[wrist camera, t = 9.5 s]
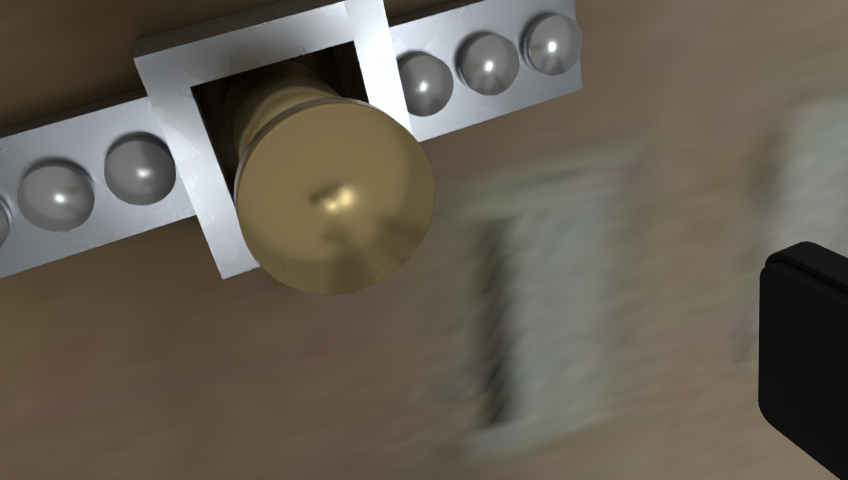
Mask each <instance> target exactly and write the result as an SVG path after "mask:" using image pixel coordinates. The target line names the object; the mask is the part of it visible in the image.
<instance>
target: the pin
mask: <svg viewBox="0 0 848 480" xmlns="http://www.w3.org/2000/svg"><path fill="white" fill-rule="evenodd" d="M224 117H225V123H226V127H227V130H228V132H229V135H230V138H231V141H232V144H233V147H234V149H235V152H236V155H237V158H238V161H239V166H238V168H237V172H236V177H235V182H234V203H235V210H236V214H237V218H238V222H239V226H240V229H241V233H242V236H243V238H244V241H245V243H246V246H247V247H248V249H249V251H250V253H251V254H252V256H253V257H254V259H255V260H256V261H257V262H258V264H259V265H260V266H261V267H262V268H263V269H264V270H265V271H266V272H267V273H268V274H269V275H271V276H272V277H274V278H275V279H277V280H278V281H279V282H281V283H283V284H285V285H287V286H289V287H292V288H294V289H297V290H300V291H303V292H308V293H312V294H322V295H338V294H345V293H351V292H354V291H358V290H362V289H364V288H367V287H370V286H372V285H374V284H376V283H378V282H380V281H382V280H384V279H385V278H387V277H388V276H390V275H391V274H393V273H394V272H395V271H396V270H398V269H399V268H400V267H401V266H402V265H403V264H404V263H405V262H406V261H407V260H408V259H409V258H410V257H411V256H412V254H413V253H414V252H415V250H416V249H417V248H418V246H419V245H420V243H421V241H422V240H423V238H424V236H425V234H426V232H427V229H428V227H429V224H430V221H431V218H432V214H433V208H434V202H435V186H434V177H433V173H432V169H431V166H430V163H429V161H428V158H427V156H426V154H425V152H424V150H423V149H422V147H421V145H420V144H419V143H418V141H417V140H416V139H415V137H414V136H413V135H412V134H411V133H410V132H409V131H408V130H407V129H406V128H405V127H404V126H402V125H401V124H400V123H399V122H397V121H396V120H395V119H394V118H392V117H391V116H390V115H388V114H387V113H385V112H384V111H383V110H381V109H379V108H377V107H375V106H373V105H371V104H368V103H366V102H363V101H360V100H355V99H351V98H342V97H341V96H340V95H339V94H338V93H337V92H335V91H334V90H333V89H332V88H331V87H330V86H329V85H328V84H327V83H326V82H325V81H323V80H322V79H321V78H320V77H319V76H318V75H317V74H316V73H315V72H314V71H312V70H311V69H310V68H308V67H307V66H305V65H303V64H301V63H299V62H296V61H293V60H289V59H286V60H283V61H279V62H276V63H272V64H269V65H265V66H262V67H258V68H254V69H251V70H247V71H244V72H241V73H240V74H239V75H238V76H237V77H236V79H235V80H234V81H233V83H232V84H231V86H230V88H229V90H228V93H227V96H226V99H225V105H224Z"/></svg>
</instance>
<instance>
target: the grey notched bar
mask: <svg viewBox="0 0 848 480" xmlns="http://www.w3.org/2000/svg"><path fill="white" fill-rule="evenodd" d="M582 45H583V38H582V33H581V30H580V28H579V26H578V24H577V23H576V14H575V4H574V0H455V1H451V2H447V3H444V4H440V5H437V6H433V7H430V8H426V9H423V10H419V11H416V12H412V13H408V14H405V15H401V16H398V17H394V18H391V19H387V18H386V13H385V9H384V4H383V0H281V1H278V2H274V3H270V4H266V5H263V6H259V7H255V8H251V9H248V10H244V11H240V12H236V13H233V14H229V15H225V16H221V17H218V18H214V19H210V20H206V21H203V22H199V23H195V24H191V25H188V26H184V27H180V28H176V29H173V30H169V31H165V32H161V33H158V34H154V35H150V36H146V37H143V38H139V39H136V44H135V50H134V56H133V60H134V62H135V65H136V67H137V70H138V72H139V74H140V77H141V79H142V82H143V84H144V87H145V88H142V89H139V90H135V91H132V92H128V93H125V94H121V95H118V96H114V97H110V98H107V99H103V100H100V101H96V102H93V103H89V104H86V105H82V106H79V107H75V108H71V109H68V110H64V111H61V112H57V113H54V114H50V115H47V116H43V117H40V118H36V119H32V120H29V121H25V122H22V123H18V124H15V125H11V126H8V127H4V128H1V129H0V278H3V277H6V276H9V275H12V274H15V273H18V272H21V271H24V270H27V269H30V268H33V267H37V266H40V265H43V264H46V263H49V262H52V261H55V260H58V259H61V258H64V257H67V256H70V255H73V254H76V253H80V252H83V251H86V250H89V249H92V248H95V247H98V246H101V245H104V244H107V243H110V242H113V241H116V240H120V239H123V238H126V237H129V236H132V235H135V234H138V233H141V232H144V231H147V230H150V229H153V228H156V227H160V226H163V225H166V224H169V223H172V222H175V221H178V220H181V219H184V218H187V217H190V216H193V215H197V217H198V220H199V222H200V225H201V227H202V230H203V232H204V235H205V237H206V240H207V242H208V244H209V247H210V249H211V252H212V254H213V257H214V259H215V262H216V264H217V267H218V269H219V272H220V274H221V276H222V279H225V278H228V277H231V276H234V275H237V274H240V273H243V272H246V271H248V270H251V269H254V268H257V267H260V265H259V264H258V262H257V261H256V260H255V259H254V257H253V256H252V254H251V253H250V251H249V249H248V247H247V246H246V243H245V241H244V238H243V236H242V233H241V229H240V226H239V222H238V218H237V214H236V210H235V203H234V195H233V193H232V190H231V187H230V185H229V182H228V179H227V177H226V174H225V171H224V168H223V166H222V163H221V160H220V158H219V155H218V152H217V150H216V147H215V144H214V142H213V139H212V136H211V134H210V131H209V128H208V125H207V123H206V120H205V117H204V115H203V112H202V109H201V107H200V104H199V101H198V99H197V96H196V93H195V90H194V88H193V86H195V85H198V84H202V83H205V82H209V81H212V80H216V79H219V78H223V77H226V76H230V75H233V74H237V73H240V72H244V71H247V70H251V69H254V68H258V67H262V66H265V65H269V64H272V63H276V62H279V61H283V60H286V59H290V58H293V57H297V56H300V55H304V54H307V53H311V52H314V51H318V50H321V49H325V48H328V47H333V51H334V54H335V58H336V62H337V66H338V70H339V73H340V77H341V81H342V85H343V88H344V92H345V96H346V98H351V99H355V100H360V101H363V102H366V103H368V104H371V105H373V106H375V107H377V108H379V109H381V110H383V111H384V112H385V113H387V114H388V115H390V116H391V117H392V118H394V119H395V120H396V121H397V122H399V123H400V124H401V125H402V126H404V127H405V128H406V129H407V130H408V131H409V132H410V133H411V134H412V135H413V136H414V137H415V139H416V140H417V141H418V142H421V141H424V140H427V139H430V138H433V137H436V136H439V135H442V134H445V133H449V132H452V131H455V130H458V129H461V128H464V127H467V126H470V125H473V124H476V123H479V122H482V121H485V120H488V119H492V118H495V117H498V116H501V115H504V114H507V113H510V112H513V111H516V110H519V109H522V108H525V107H528V106H532V105H535V104H538V103H541V102H544V101H547V100H550V99H553V98H556V97H559V96H562V95H565V94H568V93H572V92H575V91H578V90H581V89H583V86H582V76H581V65H580V54H581V51H582Z"/></svg>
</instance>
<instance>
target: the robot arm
mask: <svg viewBox="0 0 848 480" xmlns="http://www.w3.org/2000/svg"><path fill="white" fill-rule="evenodd" d="M758 402H759V407H760V410H761V412H762V414H763V416H764V418H765V419H766V420H767V421H768V423H770V424H771V425H772V426H773V427H774V428H775V429H777V430H778V431H779V432H780V433H782V434H783V435H784V436H786V437H787V438H788V439H789V440H791V441H792V442H793V443H794V444H796V445H797V446H798V447H800V448H801V449H802V450H803V451H805V452H806V453H807V454H808V455H810V456H811V457H812V458H813V459H815V460H816V461H817V462H819V463H820V464H821V465H822V466H824V467H825V468H826V469H827V470H829V471H830V472H831V473H833V474H834V475H835V476H836V477H838V478H839V479H840V480H848V258H846V257H844V256H842V255H840V254H837V253H835V252H833V251H831V250H829V249H826V248H824V247H822V246H820V245H818V244H815V243H812V242H809V241H806V242H800V243H798V244H795V245H793V246H790V247H788V248H786V249H783V250H781V251H778V252H776V253H773V254H772V255H770V256H769V257H768V258H767V260H766V262H765V268H763V269H762V271H761V273H760V300H759V383H758Z"/></svg>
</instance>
